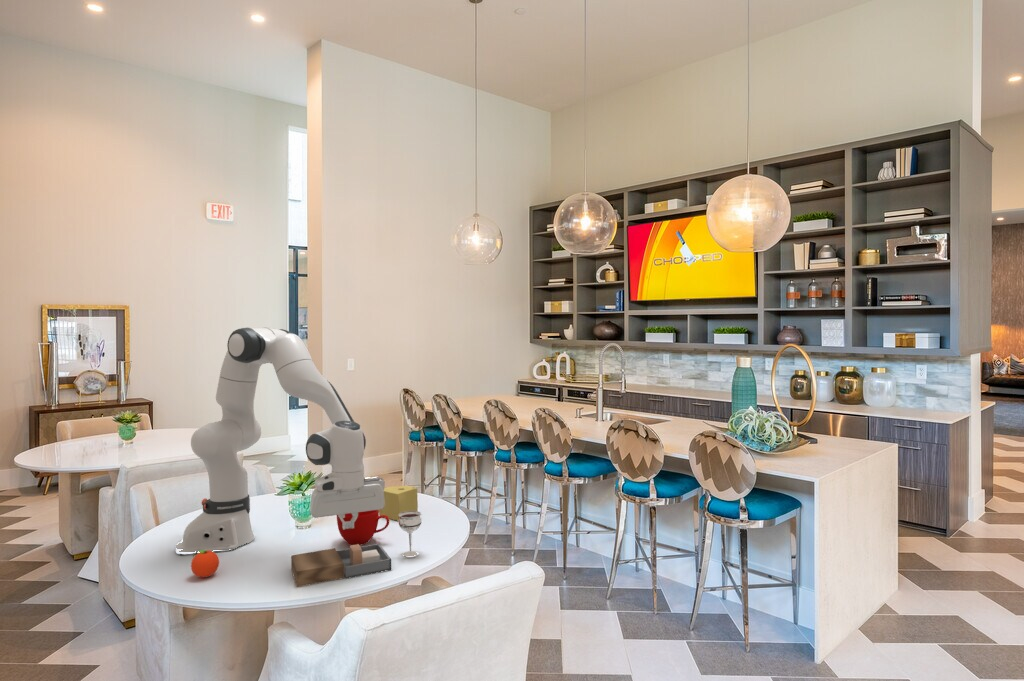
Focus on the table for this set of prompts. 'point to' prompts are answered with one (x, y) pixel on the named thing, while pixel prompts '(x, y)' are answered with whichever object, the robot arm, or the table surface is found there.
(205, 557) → the clementine
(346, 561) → the tray
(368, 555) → the tile
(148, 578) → the table surface
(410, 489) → the cheese
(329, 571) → the walnut block
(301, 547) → the table surface
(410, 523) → the wineglass
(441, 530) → the table surface
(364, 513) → the ceramic cup
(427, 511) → the table surface
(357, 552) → the tile
